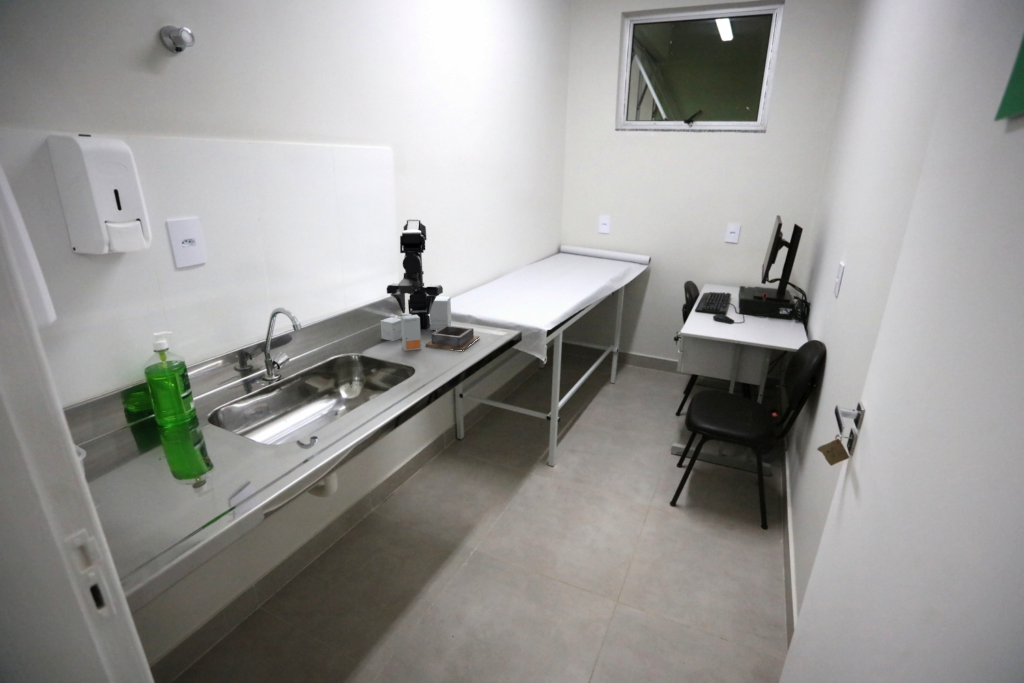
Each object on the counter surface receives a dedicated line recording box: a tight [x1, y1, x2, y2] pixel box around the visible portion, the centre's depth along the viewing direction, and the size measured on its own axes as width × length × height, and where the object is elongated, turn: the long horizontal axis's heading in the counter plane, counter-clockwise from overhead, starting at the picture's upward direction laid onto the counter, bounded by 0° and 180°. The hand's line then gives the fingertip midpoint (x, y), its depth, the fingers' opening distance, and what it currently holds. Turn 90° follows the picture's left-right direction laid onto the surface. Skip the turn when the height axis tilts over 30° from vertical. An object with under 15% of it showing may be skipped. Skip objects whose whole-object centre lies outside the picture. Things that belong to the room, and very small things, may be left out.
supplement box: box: [429, 295, 452, 331], centre depth 202 cm, size 7×7×13 cm
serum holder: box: [424, 325, 480, 352], centre depth 188 cm, size 15×15×4 cm
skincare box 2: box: [400, 314, 422, 352], centre depth 180 cm, size 6×4×12 cm
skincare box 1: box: [380, 317, 402, 342], centre depth 192 cm, size 6×6×7 cm
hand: (416, 313), depth 177 cm, fingers open, 9 cm apart
